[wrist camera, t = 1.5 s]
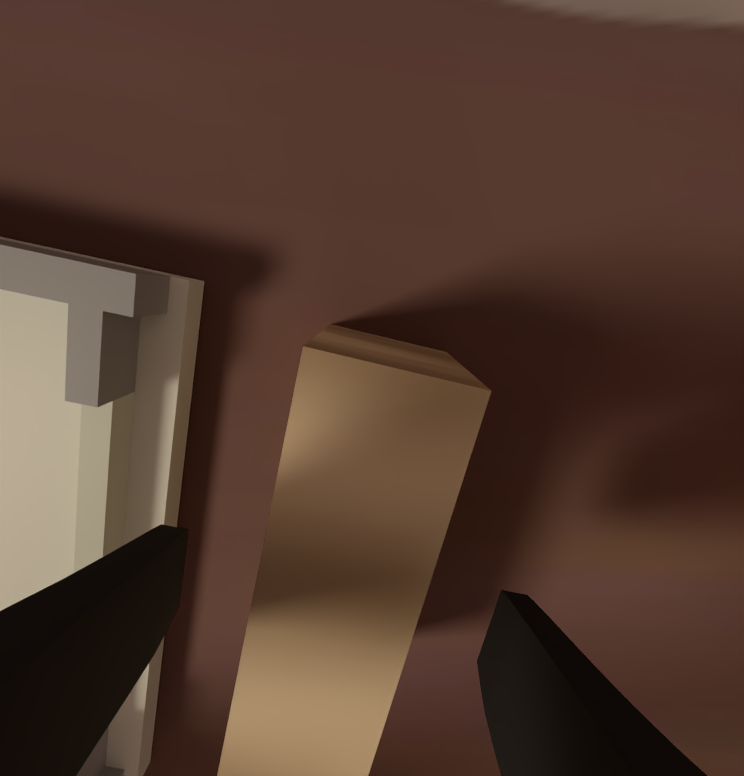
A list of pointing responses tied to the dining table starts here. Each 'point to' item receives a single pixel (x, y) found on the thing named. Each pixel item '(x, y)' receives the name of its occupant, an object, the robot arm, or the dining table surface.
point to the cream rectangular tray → (91, 433)
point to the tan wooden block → (348, 550)
